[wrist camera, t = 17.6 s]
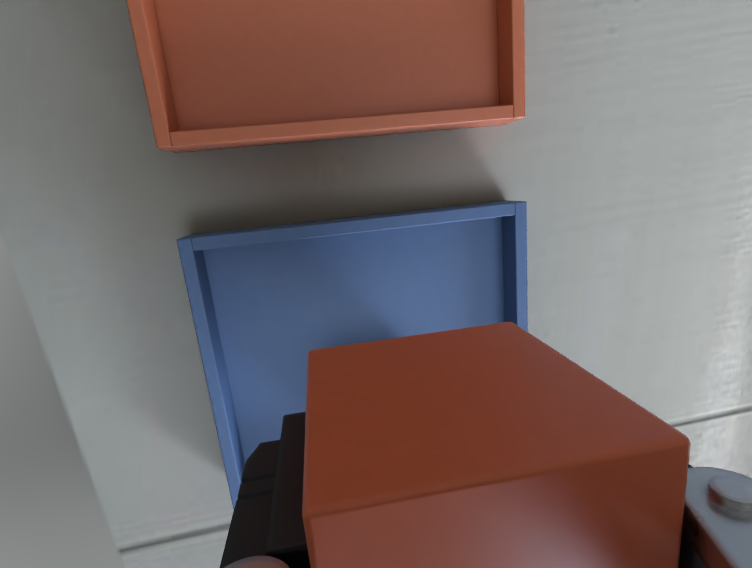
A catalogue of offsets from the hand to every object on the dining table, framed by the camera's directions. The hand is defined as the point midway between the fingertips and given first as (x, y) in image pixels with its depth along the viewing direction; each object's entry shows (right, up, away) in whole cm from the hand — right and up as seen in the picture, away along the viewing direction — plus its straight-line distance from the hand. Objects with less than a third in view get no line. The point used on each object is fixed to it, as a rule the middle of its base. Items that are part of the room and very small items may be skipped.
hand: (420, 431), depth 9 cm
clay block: (0, 0, 0) cm, 0 cm away
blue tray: (-1, 0, +13) cm, 13 cm away
